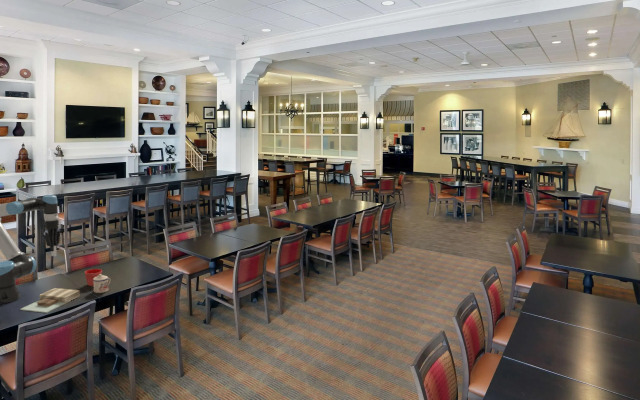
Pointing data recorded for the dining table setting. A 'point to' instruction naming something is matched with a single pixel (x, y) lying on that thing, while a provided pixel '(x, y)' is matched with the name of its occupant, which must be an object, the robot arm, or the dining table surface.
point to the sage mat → (42, 307)
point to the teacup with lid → (101, 283)
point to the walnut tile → (47, 302)
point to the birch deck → (61, 294)
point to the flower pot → (92, 275)
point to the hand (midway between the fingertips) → (54, 255)
